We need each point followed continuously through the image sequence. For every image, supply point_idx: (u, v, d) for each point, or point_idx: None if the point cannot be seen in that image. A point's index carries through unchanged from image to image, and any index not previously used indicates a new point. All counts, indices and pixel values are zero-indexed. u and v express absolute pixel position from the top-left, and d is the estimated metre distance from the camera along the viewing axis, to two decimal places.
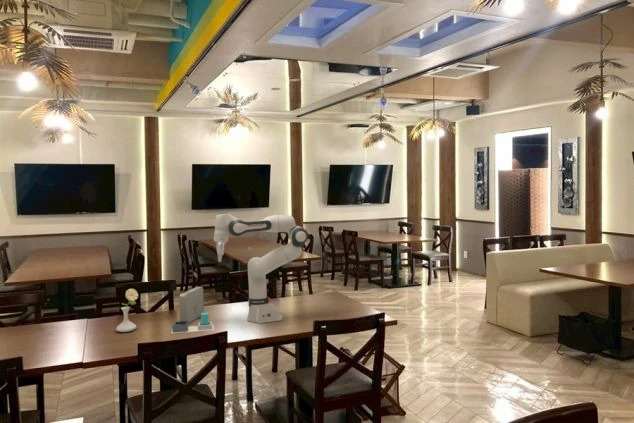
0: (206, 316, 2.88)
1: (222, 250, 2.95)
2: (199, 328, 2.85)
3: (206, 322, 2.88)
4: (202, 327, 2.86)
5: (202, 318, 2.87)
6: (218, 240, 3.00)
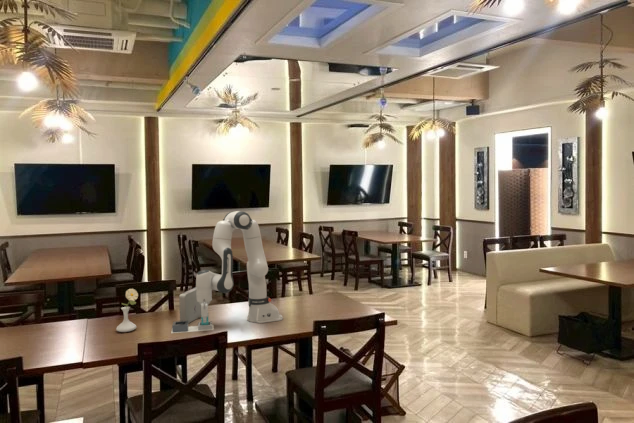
0: None
1: (206, 312, 2.80)
2: (199, 328, 2.85)
3: (206, 322, 2.88)
4: (202, 327, 2.86)
5: (202, 318, 2.87)
6: (201, 301, 2.85)
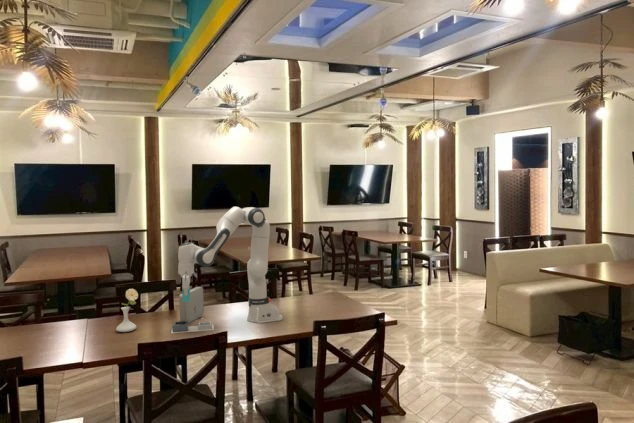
0: None
1: (187, 284, 2.76)
2: (199, 328, 2.85)
3: (187, 295, 2.84)
4: (202, 327, 2.86)
5: (183, 291, 2.84)
6: (182, 273, 2.81)
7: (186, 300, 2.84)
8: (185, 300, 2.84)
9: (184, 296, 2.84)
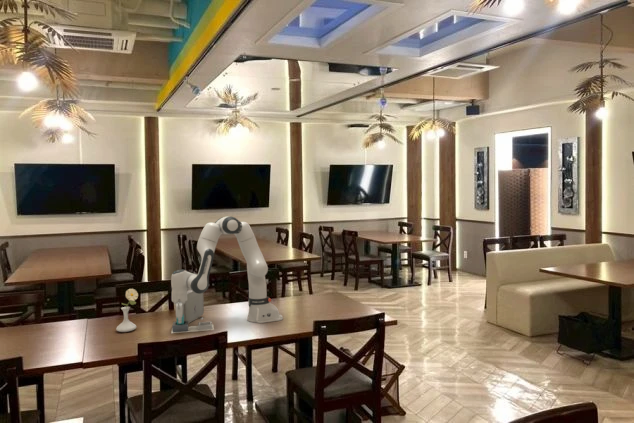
0: None
1: (180, 312, 2.77)
2: (199, 328, 2.85)
3: None
4: (202, 327, 2.86)
5: (177, 320, 2.84)
6: (176, 301, 2.82)
7: None
8: None
9: None
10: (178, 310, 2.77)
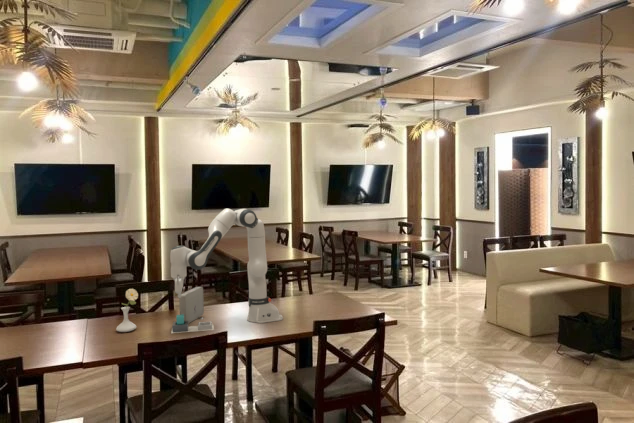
0: (181, 318, 2.85)
1: (179, 287, 2.76)
2: (199, 328, 2.85)
3: None
4: (202, 327, 2.86)
5: (177, 320, 2.84)
6: (175, 276, 2.81)
7: None
8: None
9: None
10: (177, 285, 2.76)
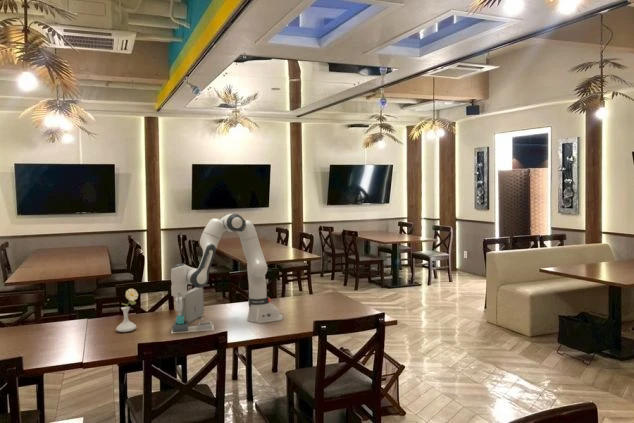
0: (181, 318, 2.85)
1: (180, 306, 2.77)
2: (199, 328, 2.85)
3: None
4: (202, 327, 2.86)
5: (177, 320, 2.84)
6: (176, 295, 2.81)
7: None
8: None
9: None
10: (178, 304, 2.76)
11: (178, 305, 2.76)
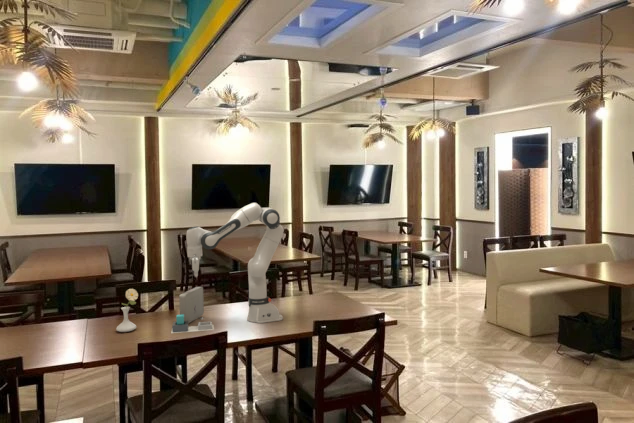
0: (181, 318, 2.85)
1: (197, 265, 2.88)
2: (199, 328, 2.85)
3: None
4: (202, 327, 2.86)
5: (177, 320, 2.84)
6: (192, 256, 2.93)
7: None
8: None
9: None
10: (194, 264, 2.88)
11: (195, 265, 2.88)
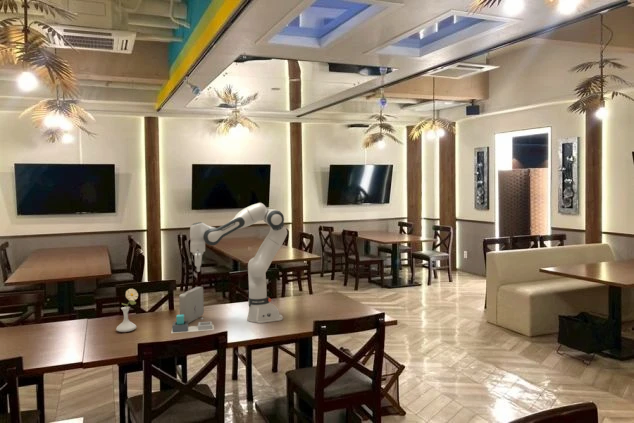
0: (181, 318, 2.85)
1: (199, 261, 2.90)
2: (199, 328, 2.85)
3: None
4: (202, 327, 2.86)
5: (177, 320, 2.84)
6: (194, 251, 2.95)
7: None
8: None
9: None
10: (197, 259, 2.90)
11: (197, 260, 2.90)
